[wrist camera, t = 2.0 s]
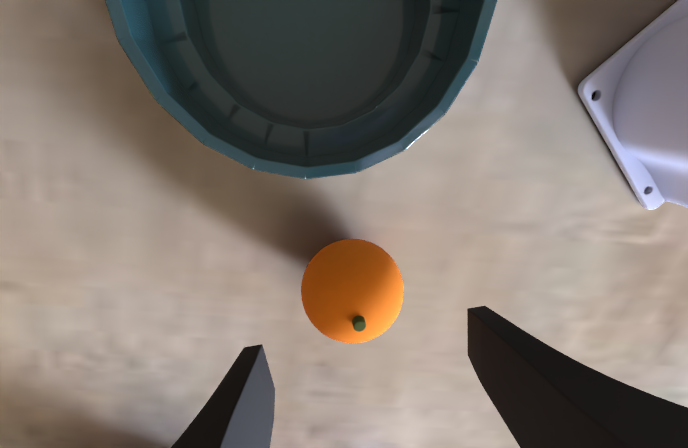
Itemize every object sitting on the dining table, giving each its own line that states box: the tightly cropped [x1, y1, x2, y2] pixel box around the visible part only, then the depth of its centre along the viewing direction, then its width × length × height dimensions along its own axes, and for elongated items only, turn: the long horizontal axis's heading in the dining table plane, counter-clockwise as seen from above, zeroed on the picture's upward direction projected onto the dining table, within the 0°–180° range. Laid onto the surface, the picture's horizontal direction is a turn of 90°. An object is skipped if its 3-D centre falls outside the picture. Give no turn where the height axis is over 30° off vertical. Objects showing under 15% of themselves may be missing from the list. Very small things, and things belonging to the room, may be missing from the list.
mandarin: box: [301, 239, 404, 343], centre depth 18 cm, size 5×5×6 cm
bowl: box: [105, 0, 497, 179], centre depth 14 cm, size 13×13×5 cm
